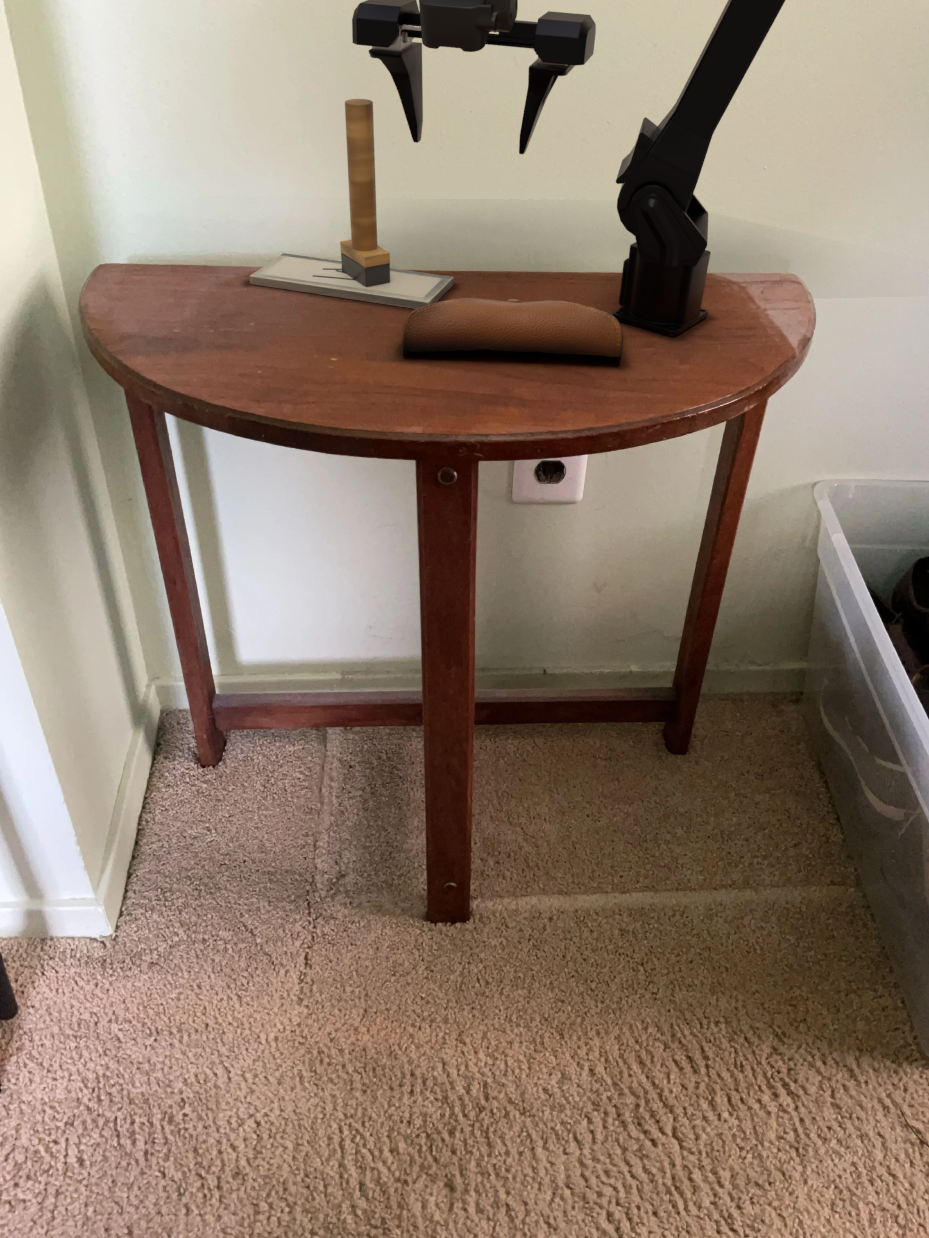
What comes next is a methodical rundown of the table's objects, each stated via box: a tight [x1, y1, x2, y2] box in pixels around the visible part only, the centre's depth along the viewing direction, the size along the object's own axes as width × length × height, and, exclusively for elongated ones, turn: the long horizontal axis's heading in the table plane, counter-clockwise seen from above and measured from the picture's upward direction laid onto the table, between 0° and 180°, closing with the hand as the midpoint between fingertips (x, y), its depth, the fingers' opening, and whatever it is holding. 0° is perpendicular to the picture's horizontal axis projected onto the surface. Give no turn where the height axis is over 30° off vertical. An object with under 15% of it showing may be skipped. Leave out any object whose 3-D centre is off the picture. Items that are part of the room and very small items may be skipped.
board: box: [249, 252, 454, 310], centre depth 94 cm, size 18×7×1 cm, turn 71°
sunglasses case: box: [402, 297, 624, 363], centre depth 83 cm, size 18×7×7 cm, turn 88°
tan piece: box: [339, 98, 391, 287], centre depth 89 cm, size 5×3×15 cm, turn 32°
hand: (469, 147), depth 84 cm, fingers open, 9 cm apart
